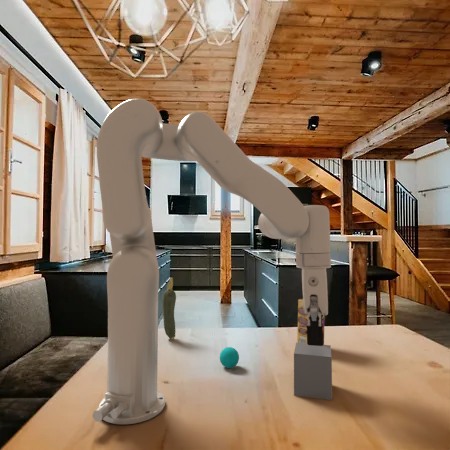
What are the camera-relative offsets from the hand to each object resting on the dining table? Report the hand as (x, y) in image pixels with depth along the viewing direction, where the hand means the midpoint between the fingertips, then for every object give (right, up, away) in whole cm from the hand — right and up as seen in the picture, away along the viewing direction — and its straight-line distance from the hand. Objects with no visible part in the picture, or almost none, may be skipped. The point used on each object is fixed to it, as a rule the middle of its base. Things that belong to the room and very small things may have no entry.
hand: (315, 337), depth 75 cm
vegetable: (-38, -12, +35) cm, 53 cm away
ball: (-19, -9, +12) cm, 24 cm away
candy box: (+6, -12, +26) cm, 29 cm away
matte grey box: (-1, -11, 0) cm, 11 cm away
